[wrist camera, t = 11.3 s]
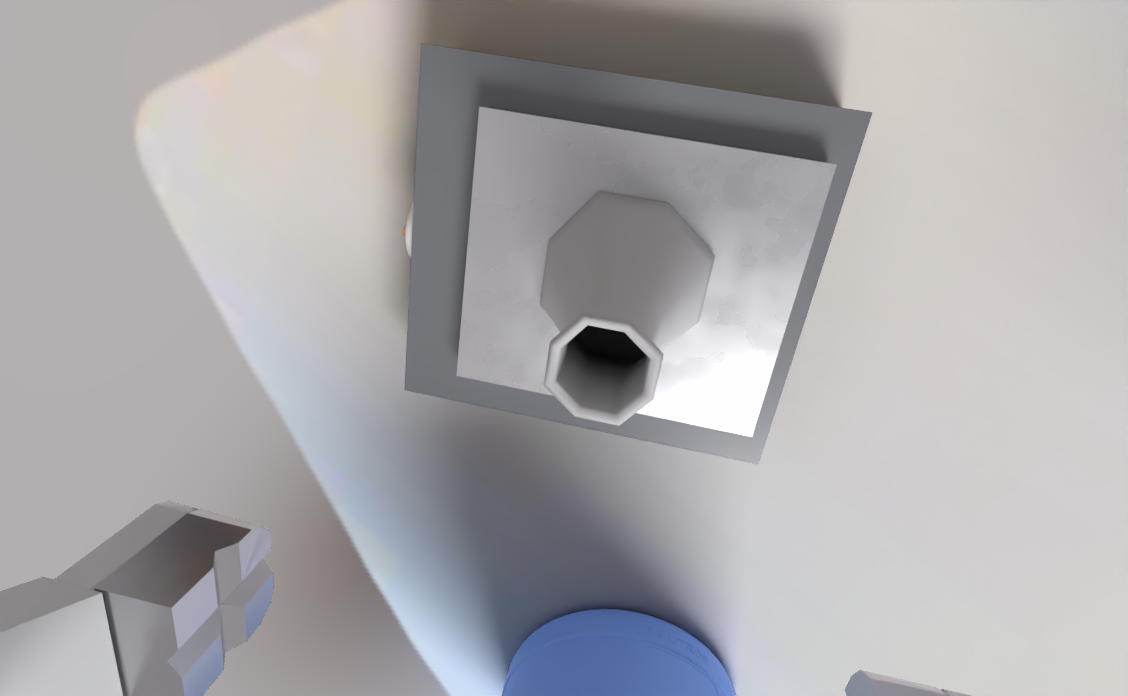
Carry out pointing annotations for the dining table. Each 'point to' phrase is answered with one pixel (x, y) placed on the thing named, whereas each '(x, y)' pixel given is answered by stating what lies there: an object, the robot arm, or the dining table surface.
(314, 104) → the dining table surface
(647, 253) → the flask
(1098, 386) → the dining table surface
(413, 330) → the base
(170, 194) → the dining table surface
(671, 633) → the water jug
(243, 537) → the robot arm
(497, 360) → the pan
